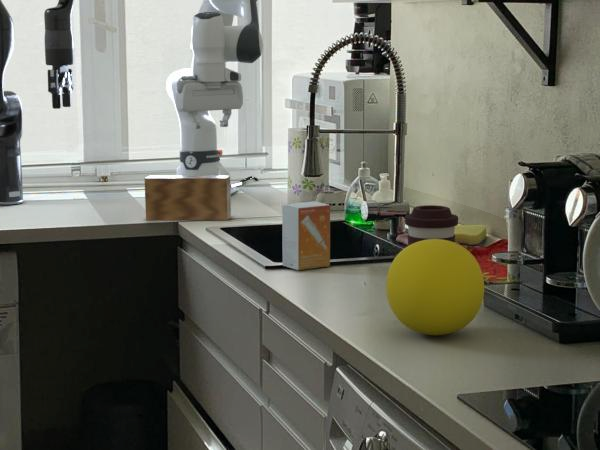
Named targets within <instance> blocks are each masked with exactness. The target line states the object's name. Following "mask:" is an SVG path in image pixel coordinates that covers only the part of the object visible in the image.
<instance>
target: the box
mask: <svg viewBox="0 0 600 450" xmlns="http://www.w3.org/2000/svg"><path fill="white" fill-rule="evenodd" d="M230 184H231V175H229V176H176V174H175V175H169V174H167V175H162V174H161V175H157V174H156V175H153V174H152V175H151V174H150V175H148V176H145V177H144V202H145V203H144V205H145V207H144V208H145V220H146V221H229V219H230V218H231V217H232V201H231V200H232V199H231V198H232V197H231V195H232V194H231V193H230Z"/></svg>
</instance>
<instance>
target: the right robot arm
mask: <svg viewBox="0 0 600 450" xmlns="http://www.w3.org/2000/svg"><path fill="white" fill-rule="evenodd" d="M257 2H258V0H202V3H201V5H200V7H199V9H198V12H197V13H196V14H194V15H193V18H192V22H191V23H192V24H191V36H190V42H189V48H190V51H191V53H192V60H191V68H182V69H179V70H176V71H174V72H172V73H171V74H170V75H169V76H168V77H167V79H166V84H165V88H166V92H167V94H168V96H169V98H170V99H171V100H172V102H173V104H174V108H175V111H176V114H177V119H178V122H179V130H180V131H179V132H180V133H179V134H180V150H179V162H180V164H179V166H178V167H177V168H176V174H175V176H230V172H229V171H228V170H227V169H226V168H225V166H223V164H222V163H221V157H223V154H224V151H223V149H218V139H217V138H218V137H217V124H216V122H215V120H214V119H213V118H212V115H211V114H210V112H211V111H222V114H223V116H222V119H219V127H221V128H228V127H229V121H230V118H231V115H232V114H233V113H232V110H241V109H242V107H243V104H244V94H243V93H244V92H243V85H242V84H241V83H240V82H241V81H242V74H241V73H240V72H238V71H235V70H233V69H230V68H228V67H226V65H227V63H243V64H253V63H255V62H256V61H257V60H258V59H259V58H260V57H261V56H262V53H263V50H264V49H263V48H264V42H263V37H262V34H261V33H262V32H261V31H260V22H259V11H258V5H257V4H258V3H257ZM234 16H236V17H239V18H242V19H243V21H244V24H241V25H233V23H234V18H235V17H234ZM252 176H253V175H250V176H247V177H246V178H242V179H241V180H240V181H238V182H236V183H234V184H231V183H230V193H231V195H232V194H234V193H236V192H237V191H238V186H242V185H243V183H246V182H248V181H250V180H254V181H255V182H258V181H259V179H258V178H257V177H256V178H252ZM250 178H252V179H250ZM244 179H246V180H244Z"/></svg>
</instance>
